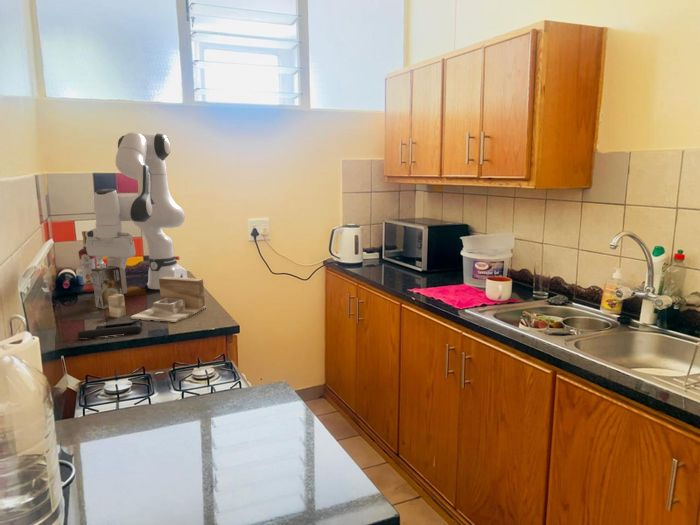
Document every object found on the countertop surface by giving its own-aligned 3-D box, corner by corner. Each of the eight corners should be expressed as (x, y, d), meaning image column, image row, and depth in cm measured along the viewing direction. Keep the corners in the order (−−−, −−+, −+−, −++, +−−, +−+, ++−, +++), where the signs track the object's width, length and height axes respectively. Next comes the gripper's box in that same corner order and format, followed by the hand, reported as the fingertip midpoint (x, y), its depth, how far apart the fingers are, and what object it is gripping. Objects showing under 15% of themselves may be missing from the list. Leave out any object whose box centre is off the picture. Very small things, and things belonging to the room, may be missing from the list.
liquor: (102, 288, 250) (96, 230, 244) (97, 292, 243) (90, 232, 237) (86, 289, 249) (79, 230, 243) (80, 293, 242) (73, 232, 236)
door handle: (83, 322, 191) (76, 333, 176) (142, 316, 198) (141, 326, 183) (84, 331, 192) (77, 342, 177) (143, 324, 198) (141, 335, 183)
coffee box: (116, 302, 226) (112, 265, 223) (124, 304, 222) (120, 266, 219) (95, 306, 219) (90, 268, 216) (103, 309, 215) (98, 270, 212)
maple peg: (117, 313, 208) (115, 294, 207) (125, 314, 207) (123, 294, 206) (110, 316, 205) (107, 296, 203) (118, 317, 203) (116, 297, 202)
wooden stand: (165, 304, 221) (163, 276, 218) (207, 308, 214) (205, 279, 212) (131, 318, 202) (128, 288, 199) (175, 323, 195) (172, 291, 193)
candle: (94, 298, 233) (89, 253, 229) (118, 290, 246) (114, 248, 242) (107, 299, 231) (102, 254, 227) (130, 291, 243) (126, 248, 240)
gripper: (137, 232, 199) (140, 268, 202) (94, 230, 206) (98, 265, 208) (125, 234, 193) (129, 271, 196) (81, 232, 200) (85, 268, 202)
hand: (112, 268), depth 202 cm, fingers open, 8 cm apart
